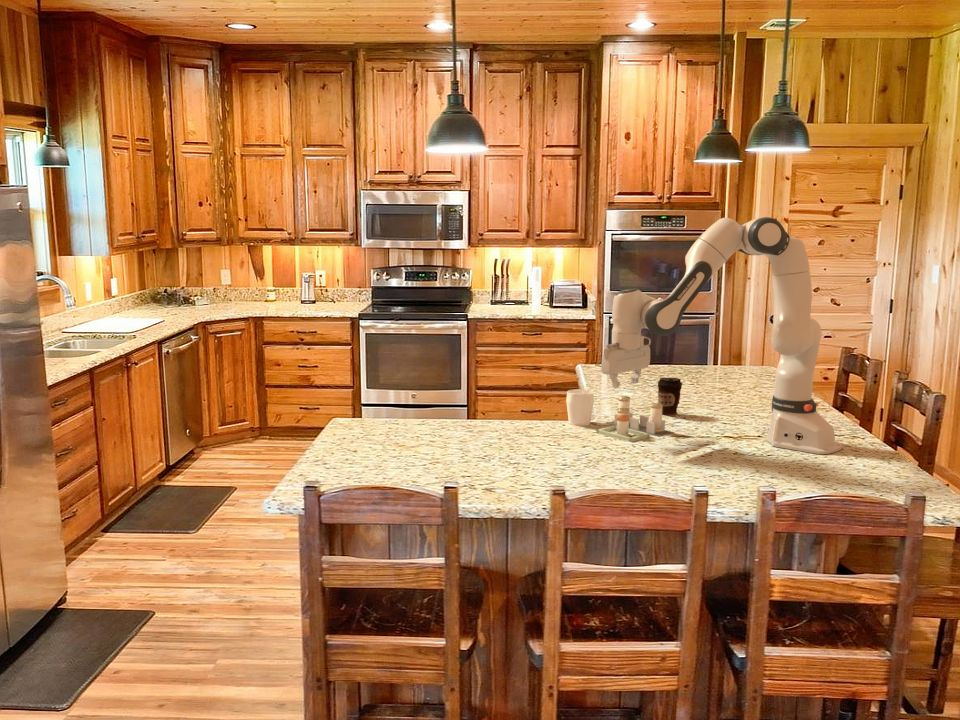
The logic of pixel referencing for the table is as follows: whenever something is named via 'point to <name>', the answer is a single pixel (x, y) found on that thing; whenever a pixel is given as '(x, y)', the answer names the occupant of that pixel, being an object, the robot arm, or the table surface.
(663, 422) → the fuse block
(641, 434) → the tray
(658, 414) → the fuse
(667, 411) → the coffee cup
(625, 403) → the fuse
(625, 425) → the fuse marked
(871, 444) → the table surface
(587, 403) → the cup
